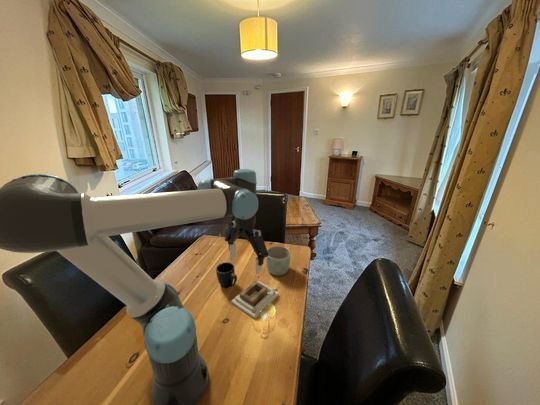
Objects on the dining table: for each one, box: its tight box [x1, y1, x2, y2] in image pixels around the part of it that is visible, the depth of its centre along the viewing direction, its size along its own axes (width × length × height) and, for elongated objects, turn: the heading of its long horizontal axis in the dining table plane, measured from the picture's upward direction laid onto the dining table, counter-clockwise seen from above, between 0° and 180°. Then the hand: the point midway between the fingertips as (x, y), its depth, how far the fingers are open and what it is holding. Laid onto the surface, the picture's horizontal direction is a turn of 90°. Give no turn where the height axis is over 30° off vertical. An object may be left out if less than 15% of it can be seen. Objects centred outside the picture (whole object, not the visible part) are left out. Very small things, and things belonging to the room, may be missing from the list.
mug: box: [215, 262, 238, 289], centre depth 99 cm, size 8×12×10 cm
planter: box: [265, 245, 292, 276], centre depth 110 cm, size 12×12×11 cm
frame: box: [239, 280, 268, 307], centre depth 92 cm, size 10×7×4 cm
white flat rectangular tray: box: [231, 280, 279, 319], centre depth 93 cm, size 16×13×3 cm
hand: (245, 264), depth 83 cm, fingers open, 13 cm apart
